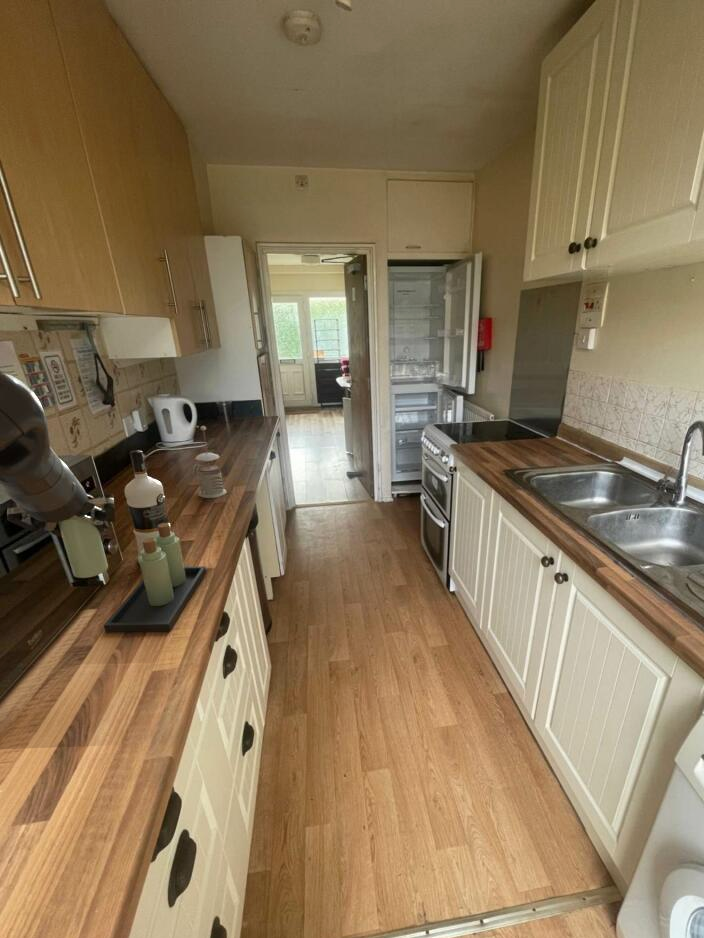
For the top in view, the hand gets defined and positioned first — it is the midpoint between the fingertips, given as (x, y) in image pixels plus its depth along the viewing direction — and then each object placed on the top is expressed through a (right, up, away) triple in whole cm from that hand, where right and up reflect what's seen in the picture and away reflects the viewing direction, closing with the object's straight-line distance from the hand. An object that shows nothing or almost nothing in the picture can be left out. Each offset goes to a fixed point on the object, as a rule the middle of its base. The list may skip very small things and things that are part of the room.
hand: (82, 529), depth 74 cm
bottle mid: (+2, -17, +23) cm, 28 cm away
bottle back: (+1, -14, +29) cm, 33 cm away
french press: (-12, +9, +85) cm, 86 cm away
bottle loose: (+1, -7, +1) cm, 7 cm away
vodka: (-7, -10, +39) cm, 41 cm away
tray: (+2, -17, +23) cm, 29 cm away
